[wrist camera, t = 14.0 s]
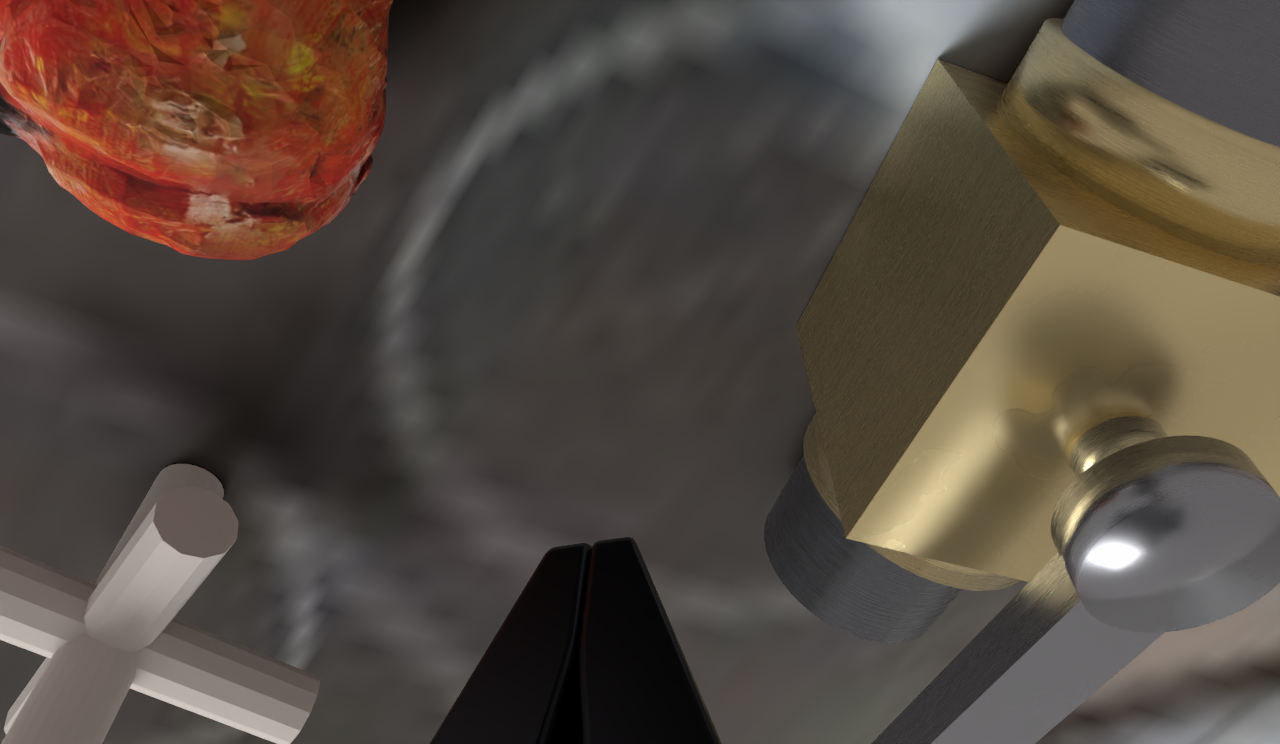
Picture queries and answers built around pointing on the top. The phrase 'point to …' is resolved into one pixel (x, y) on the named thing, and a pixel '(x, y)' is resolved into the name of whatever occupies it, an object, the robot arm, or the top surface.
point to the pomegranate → (200, 112)
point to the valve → (1038, 304)
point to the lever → (1109, 589)
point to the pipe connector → (142, 629)
